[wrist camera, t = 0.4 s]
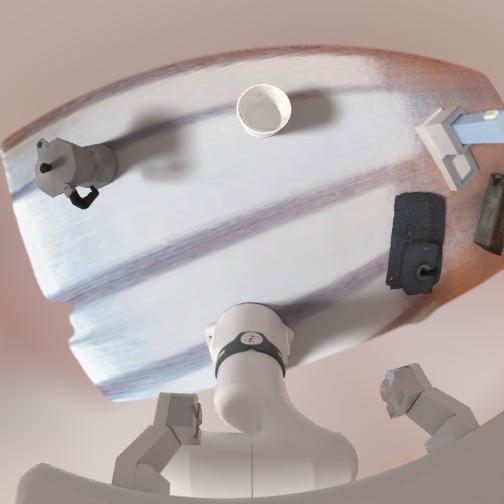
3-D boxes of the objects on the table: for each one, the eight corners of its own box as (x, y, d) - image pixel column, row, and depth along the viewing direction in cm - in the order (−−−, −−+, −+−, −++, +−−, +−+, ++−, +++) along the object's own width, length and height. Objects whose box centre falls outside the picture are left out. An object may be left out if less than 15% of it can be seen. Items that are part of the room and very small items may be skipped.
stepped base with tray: (468, 169, 48) (497, 172, 38) (450, 190, 49) (479, 195, 40) (434, 108, 44) (462, 102, 35) (413, 127, 46) (441, 122, 36)
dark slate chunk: (446, 194, 50) (458, 197, 46) (434, 286, 56) (445, 294, 52) (391, 190, 50) (403, 192, 45) (382, 292, 56) (391, 301, 51)
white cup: (265, 92, 45) (269, 74, 35) (292, 125, 46) (302, 114, 37) (230, 116, 46) (225, 103, 36) (257, 149, 48) (259, 144, 38)
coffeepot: (69, 160, 47) (12, 161, 29) (97, 127, 45) (42, 115, 28) (107, 214, 50) (54, 233, 33) (139, 182, 49) (90, 189, 31)
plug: (467, 134, 38) (513, 131, 25) (458, 144, 38) (505, 143, 26) (456, 114, 37) (502, 106, 24) (446, 123, 38) (493, 117, 25)
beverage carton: (504, 185, 49) (521, 188, 42) (486, 251, 54) (502, 258, 47) (490, 172, 48) (507, 174, 42) (471, 242, 53) (487, 249, 47)
